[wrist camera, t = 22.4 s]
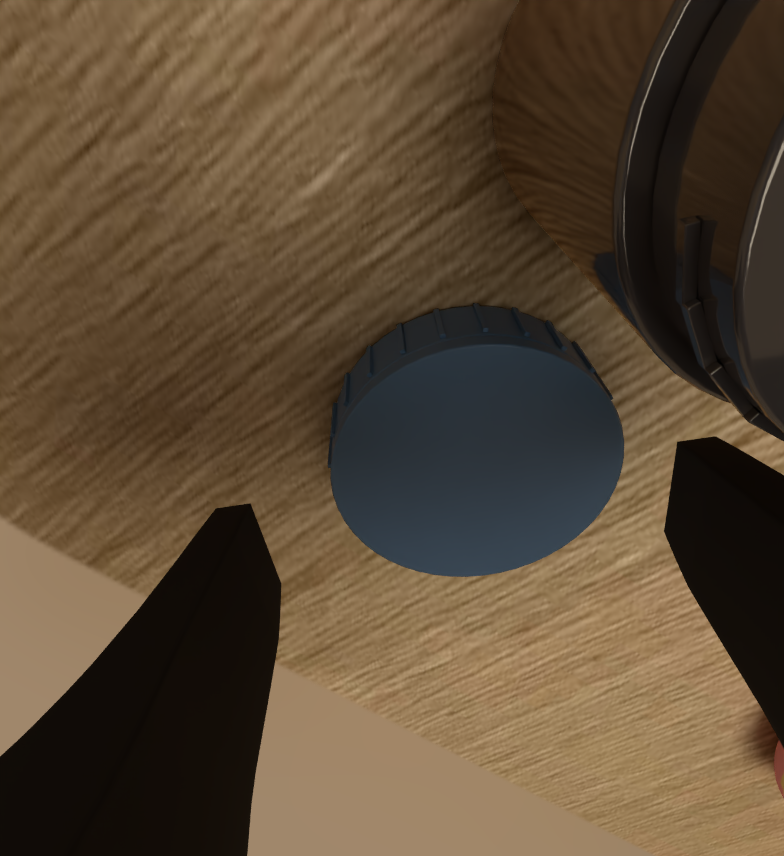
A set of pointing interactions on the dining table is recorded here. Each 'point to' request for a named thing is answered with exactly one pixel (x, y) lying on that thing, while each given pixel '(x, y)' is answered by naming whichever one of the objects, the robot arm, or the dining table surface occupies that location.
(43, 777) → the robot arm
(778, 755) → the donut
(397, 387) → the lid
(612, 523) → the dining table surface
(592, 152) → the jar
